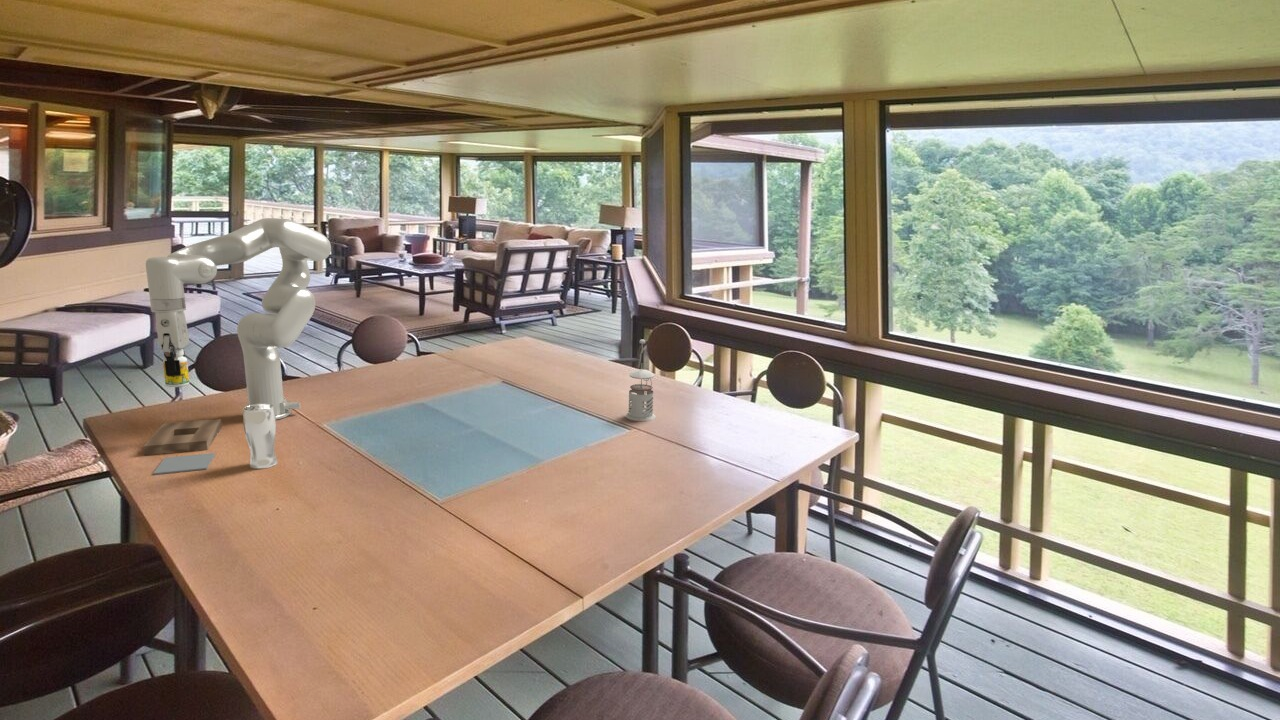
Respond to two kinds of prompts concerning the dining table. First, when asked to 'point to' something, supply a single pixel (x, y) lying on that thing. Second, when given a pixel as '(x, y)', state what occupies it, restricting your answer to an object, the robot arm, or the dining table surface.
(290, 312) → the robot arm
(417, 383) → the dining table surface
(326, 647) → the dining table surface
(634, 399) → the french press
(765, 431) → the dining table surface
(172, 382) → the supplement bottle
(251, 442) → the beer glass
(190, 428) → the brown board with hole
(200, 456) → the rubber mat
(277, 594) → the dining table surface
